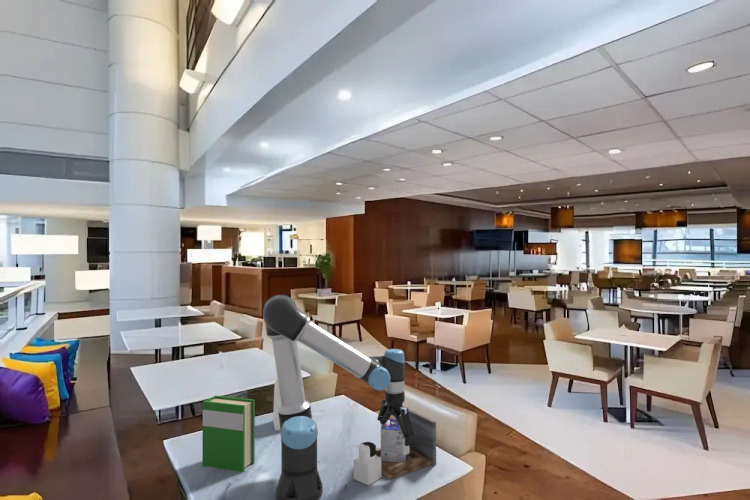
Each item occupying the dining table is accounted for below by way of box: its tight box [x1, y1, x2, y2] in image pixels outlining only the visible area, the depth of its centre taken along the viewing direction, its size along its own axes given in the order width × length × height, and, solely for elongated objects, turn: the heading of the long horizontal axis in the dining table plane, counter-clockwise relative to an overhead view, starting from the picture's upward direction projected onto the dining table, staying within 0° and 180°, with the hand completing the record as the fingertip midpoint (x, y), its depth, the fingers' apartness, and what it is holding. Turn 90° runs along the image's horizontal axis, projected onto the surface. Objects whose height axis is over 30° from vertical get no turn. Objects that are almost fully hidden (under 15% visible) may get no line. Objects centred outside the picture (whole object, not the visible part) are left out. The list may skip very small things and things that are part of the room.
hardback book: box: [201, 395, 256, 473], centre depth 161 cm, size 18×7×24 cm, turn 73°
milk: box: [272, 378, 281, 431], centre depth 200 cm, size 12×12×26 cm
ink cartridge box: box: [380, 418, 408, 463], centre depth 162 cm, size 10×6×14 cm, turn 79°
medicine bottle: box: [353, 441, 382, 486], centre depth 150 cm, size 7×7×12 cm
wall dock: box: [376, 405, 437, 480], centre depth 163 cm, size 21×20×16 cm
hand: (395, 447), depth 162 cm, fingers open, 13 cm apart
